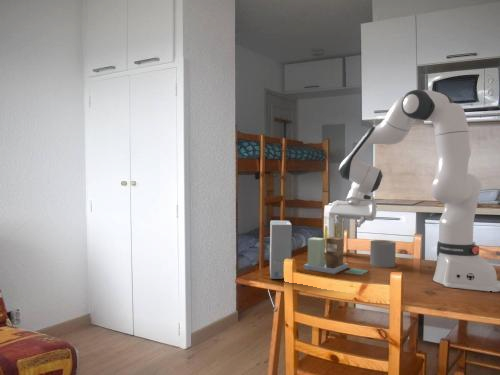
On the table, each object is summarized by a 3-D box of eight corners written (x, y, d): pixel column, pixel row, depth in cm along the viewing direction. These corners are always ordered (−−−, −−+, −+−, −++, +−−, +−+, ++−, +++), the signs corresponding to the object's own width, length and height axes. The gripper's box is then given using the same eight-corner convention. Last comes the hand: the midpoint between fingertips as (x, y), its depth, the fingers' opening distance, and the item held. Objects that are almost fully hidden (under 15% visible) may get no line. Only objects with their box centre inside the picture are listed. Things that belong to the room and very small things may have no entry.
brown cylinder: (342, 267, 178) (343, 238, 178) (337, 270, 174) (338, 239, 174) (331, 266, 181) (331, 236, 181) (325, 268, 177) (326, 238, 177)
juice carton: (321, 252, 213) (322, 202, 212) (336, 251, 215) (337, 202, 214) (330, 256, 204) (330, 204, 203) (345, 255, 206) (346, 203, 205)
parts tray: (347, 268, 179) (348, 263, 179) (334, 275, 168) (334, 269, 168) (318, 264, 186) (318, 259, 186) (303, 270, 176) (303, 264, 176)
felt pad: (369, 272, 173) (369, 270, 173) (361, 276, 167) (361, 274, 167) (352, 269, 177) (352, 268, 177) (344, 273, 171) (344, 272, 171)
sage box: (324, 268, 177) (325, 238, 176) (318, 270, 173) (319, 240, 172) (313, 266, 180) (313, 237, 179) (307, 269, 176) (307, 238, 175)
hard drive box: (291, 279, 161) (292, 225, 160) (270, 279, 161) (270, 224, 160) (288, 269, 176) (289, 219, 175) (269, 269, 176) (269, 219, 176)
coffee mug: (384, 269, 178) (385, 244, 177) (365, 265, 186) (365, 241, 185) (405, 265, 185) (405, 241, 185) (385, 261, 193) (386, 238, 193)
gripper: (332, 195, 198) (322, 218, 191) (377, 197, 186) (368, 222, 179) (336, 204, 202) (326, 228, 195) (380, 206, 190) (372, 232, 183)
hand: (346, 225), depth 187 cm, fingers open, 8 cm apart
